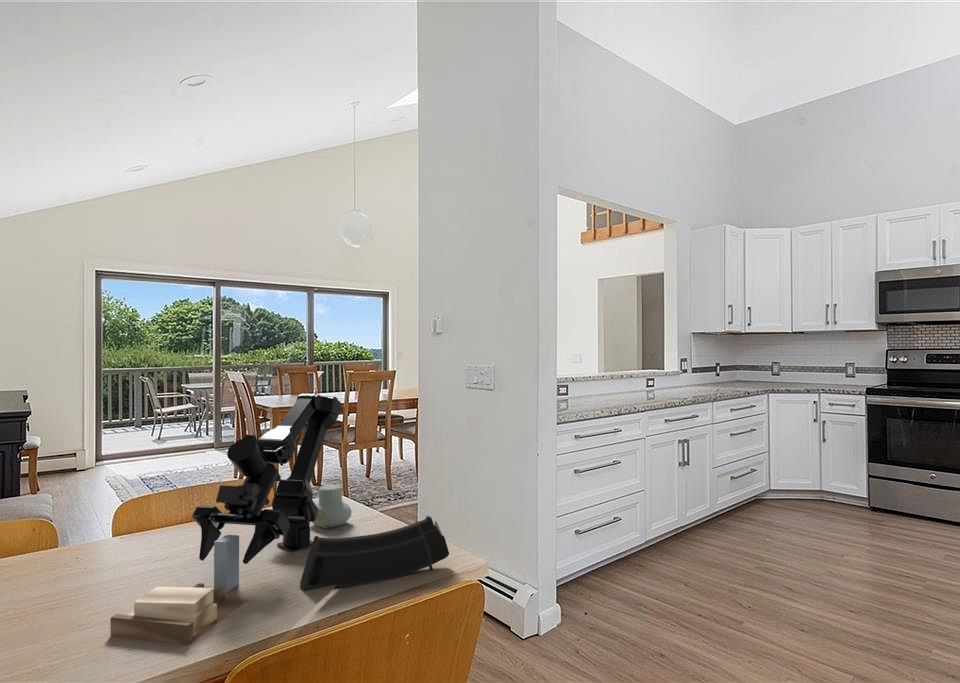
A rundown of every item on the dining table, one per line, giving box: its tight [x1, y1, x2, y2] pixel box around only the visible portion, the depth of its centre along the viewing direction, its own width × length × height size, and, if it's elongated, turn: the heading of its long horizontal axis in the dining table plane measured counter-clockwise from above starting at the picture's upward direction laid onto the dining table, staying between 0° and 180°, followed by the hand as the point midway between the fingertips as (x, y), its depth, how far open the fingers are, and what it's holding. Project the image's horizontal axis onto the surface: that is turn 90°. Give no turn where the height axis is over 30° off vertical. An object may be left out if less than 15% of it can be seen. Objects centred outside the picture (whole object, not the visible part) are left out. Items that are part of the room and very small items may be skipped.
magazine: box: [299, 515, 450, 590], centre depth 117 cm, size 17×3×30 cm
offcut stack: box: [126, 586, 217, 636], centre depth 96 cm, size 7×12×5 cm, turn 79°
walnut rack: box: [110, 582, 250, 646], centre depth 99 cm, size 16×14×4 cm
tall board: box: [213, 534, 240, 594], centre depth 110 cm, size 4×3×10 cm, turn 170°
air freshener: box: [311, 484, 353, 529], centre depth 152 cm, size 11×8×10 cm
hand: (222, 561), depth 109 cm, fingers open, 9 cm apart
